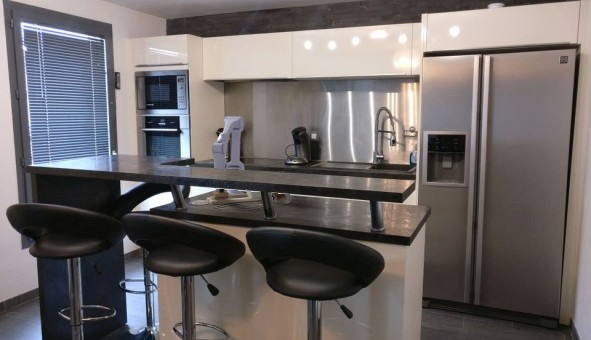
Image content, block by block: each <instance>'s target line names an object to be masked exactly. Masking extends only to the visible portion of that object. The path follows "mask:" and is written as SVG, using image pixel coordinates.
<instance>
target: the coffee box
mask: <svg viewBox="0 0 591 340" xmlns="http://www.w3.org/2000/svg"><path fill="white" fill-rule="evenodd" d="M273 172H280V173H291V174H292V172H291V171H283V170H281V171H280V170H275V171H273ZM271 194H272V195H271V197H273V201H274V203H273V204H285V205H287V204H290V203H291V200H292V199H291V197H292V194H291V195H290V194H278V193H272V192H271Z"/></svg>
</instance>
